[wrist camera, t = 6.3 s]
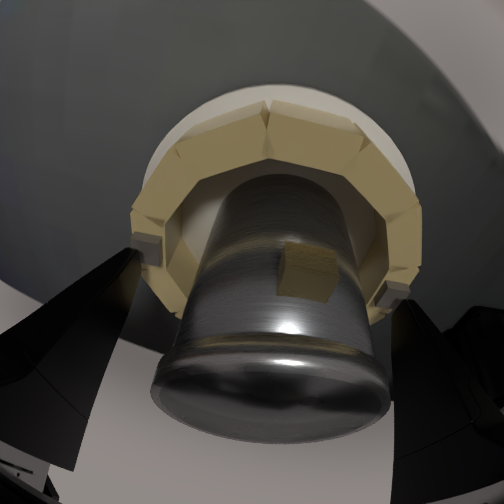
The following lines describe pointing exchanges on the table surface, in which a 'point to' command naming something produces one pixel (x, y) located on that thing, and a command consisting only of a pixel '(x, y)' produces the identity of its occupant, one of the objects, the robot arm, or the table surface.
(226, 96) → the ring
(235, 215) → the bayonet cap
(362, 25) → the table surface
